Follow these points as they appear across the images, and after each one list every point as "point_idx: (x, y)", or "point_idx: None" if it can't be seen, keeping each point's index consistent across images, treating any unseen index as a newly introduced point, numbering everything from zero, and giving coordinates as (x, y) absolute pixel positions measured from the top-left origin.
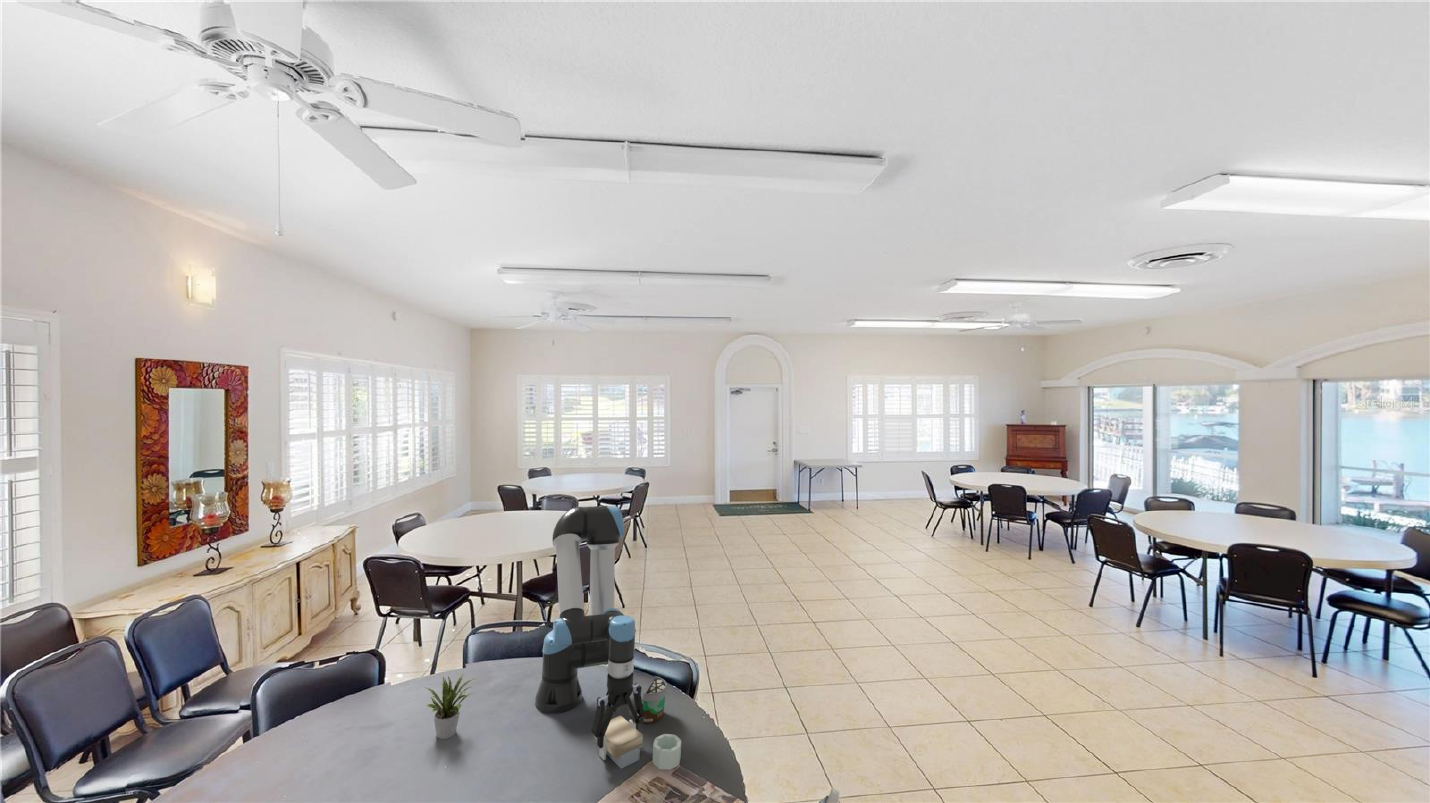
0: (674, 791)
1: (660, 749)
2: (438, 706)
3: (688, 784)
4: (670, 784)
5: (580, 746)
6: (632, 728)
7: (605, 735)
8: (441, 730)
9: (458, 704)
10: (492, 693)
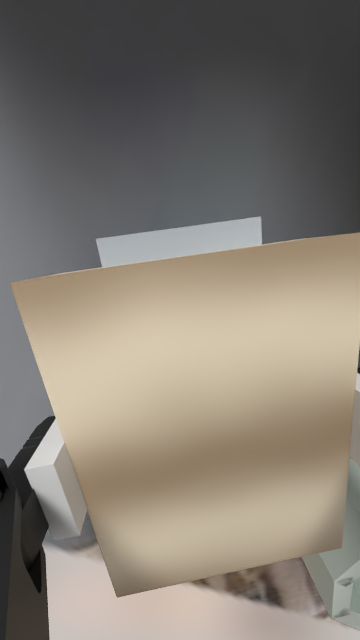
0: (263, 600)
1: (339, 610)
2: None
3: (313, 591)
4: (270, 578)
5: (7, 219)
6: (328, 467)
7: (69, 521)
8: None
9: None
10: None
